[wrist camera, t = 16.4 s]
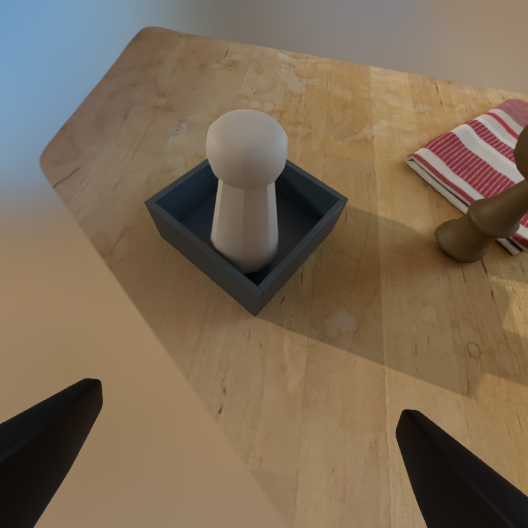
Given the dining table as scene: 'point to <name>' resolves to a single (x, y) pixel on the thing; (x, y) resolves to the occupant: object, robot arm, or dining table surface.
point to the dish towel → (477, 162)
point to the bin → (288, 221)
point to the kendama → (488, 215)
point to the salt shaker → (246, 187)
